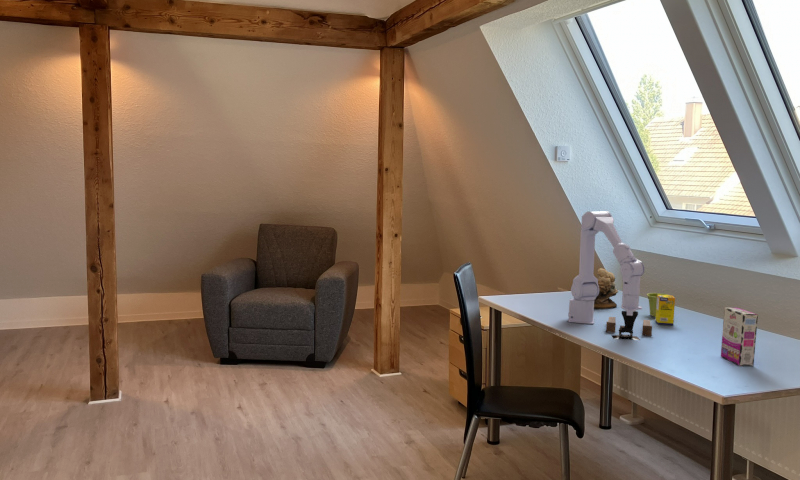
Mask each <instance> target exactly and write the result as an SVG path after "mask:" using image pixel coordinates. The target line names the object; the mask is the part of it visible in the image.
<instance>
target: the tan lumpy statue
mask: <svg viewBox="0 0 800 480" xmlns="http://www.w3.org/2000/svg"><path fill="white" fill-rule="evenodd" d="M597 276H598V277H597V279H598V286H599V294H598V296H597V297H596V299H595V300H594V310H610V309H615V308H617V307H618V305H617V303H616V302H615V301H614V300H613V299H611V297H615V296H616V295H617V294H618V293H619V291H618V289H617V288H616V282H615V281H616V277H615V274H614V273H613V272H610V271H608V270H607V269H605V268H603V267H600V268H598V270H597Z"/></svg>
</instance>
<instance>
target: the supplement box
mask: <svg viewBox="0 0 800 480" xmlns="http://www.w3.org/2000/svg"><path fill="white" fill-rule="evenodd" d="M675 304H676V297H674V295H670V294H668V295H657V302H656V317H655V319H654V322H655V323H656V324H657V325H660V326H661V325H663V326H674V320H675V319H674V318H675V306H676V305H675Z"/></svg>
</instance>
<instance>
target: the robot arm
mask: <svg viewBox="0 0 800 480" xmlns="http://www.w3.org/2000/svg"><path fill="white" fill-rule="evenodd" d="M614 221H615V220H614V217H613V216H612V214H611V212H610V211H608V210H604V211H590V210H589V211H588V210H587V211H586V212H584V214H583V215H582V216H581V228H580V241H579V242H580V243H579V244H580V245H579V265H578V267H579V269H578V272H579V273H578V275H576V276H575V277H574V278H573V279H572V285H571V287H570V293H571V295H572V297H573V298H570V299H569V305H568V307H569V308H568V315H567V316H568V323H578V324H587V325H588V324H589V325H594V323H595V320H596V319H595V318H594V312H595V311H594V310H595V309H594V300H595V299H596V297H597V296H598V294H599V286H598V277H596V276H595V275H594V269H595V268H594V267H595V249H596V247H595V246H596V236H597V234H598V233H599V232H601V233H603V234H604V235H605V237H606V238H607V240H608V241H609V243H610V244H611V246H612V247H613V249H612V253H613V255H614V257H615V258H616V260H617V262H618V263H619V265H620V269H619V271H620V274H621V280H622V299H621V306H620V307H621V309H622V310H621V316H622V318H623V321H624V323H623V324H624V326H625V327H626V326H631V327H632V330H633V328H634V325H635V321H636V319H637V317H638V316H639V311H638V310H643V307H642V306H639V305H640V292H641V276H642V277H643V275H644V273H645V269H646V268H645V265H644V262H643V261H642V260H639V259H638V258H636V257H635V255H634V254H633V251H632V250H631V248H630V246H629V245H628V244H626V243H624V242H623V240H622V239H621V237H620V235H619V233H618V231H617V229H616V226H615V225H614ZM633 331H634V330H633Z"/></svg>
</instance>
